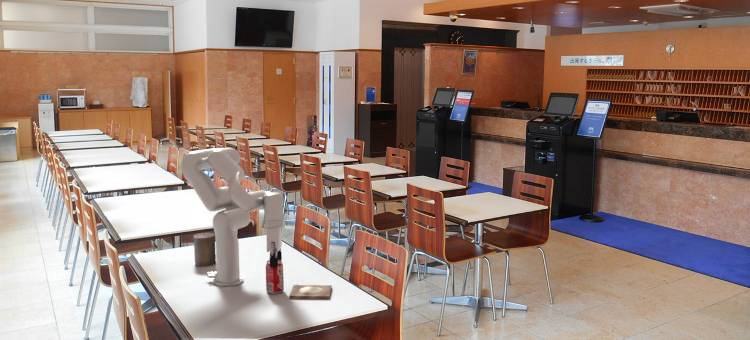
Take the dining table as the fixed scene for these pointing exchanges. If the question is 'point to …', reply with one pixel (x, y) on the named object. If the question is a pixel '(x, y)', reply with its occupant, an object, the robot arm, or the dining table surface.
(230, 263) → the robot arm
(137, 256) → the dining table surface
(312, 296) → the board
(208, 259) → the pillar candle
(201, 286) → the dining table surface
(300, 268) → the dining table surface
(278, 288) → the soda can
